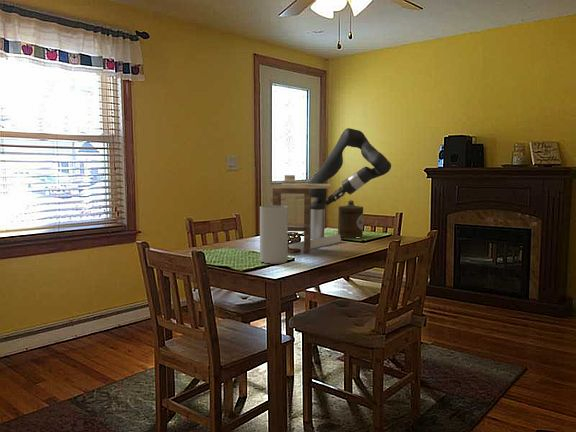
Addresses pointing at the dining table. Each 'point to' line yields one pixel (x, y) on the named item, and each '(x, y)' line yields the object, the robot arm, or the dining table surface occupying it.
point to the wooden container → (350, 221)
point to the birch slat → (305, 186)
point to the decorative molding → (317, 242)
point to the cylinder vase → (274, 234)
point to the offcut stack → (289, 179)
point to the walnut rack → (307, 212)
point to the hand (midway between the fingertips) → (327, 201)
